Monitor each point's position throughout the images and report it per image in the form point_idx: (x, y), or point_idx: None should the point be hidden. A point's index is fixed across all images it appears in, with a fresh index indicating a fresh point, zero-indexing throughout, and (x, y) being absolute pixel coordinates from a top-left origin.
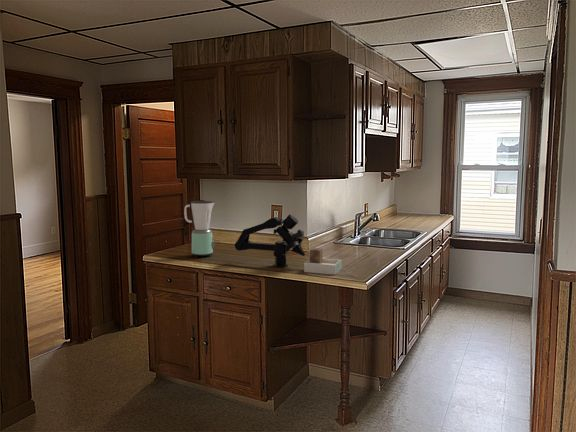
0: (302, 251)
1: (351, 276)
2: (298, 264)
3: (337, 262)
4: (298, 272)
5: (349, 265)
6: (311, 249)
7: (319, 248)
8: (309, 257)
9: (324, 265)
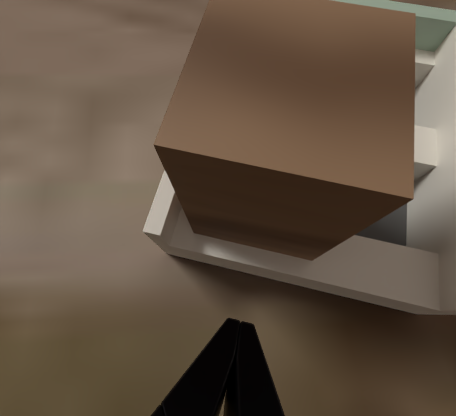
0: (265, 389)
1: (431, 4)
2: (74, 403)
3: (348, 1)
4: (453, 375)
5: (133, 6)
6: (349, 153)
7: (204, 22)
8: (339, 240)
9: None
